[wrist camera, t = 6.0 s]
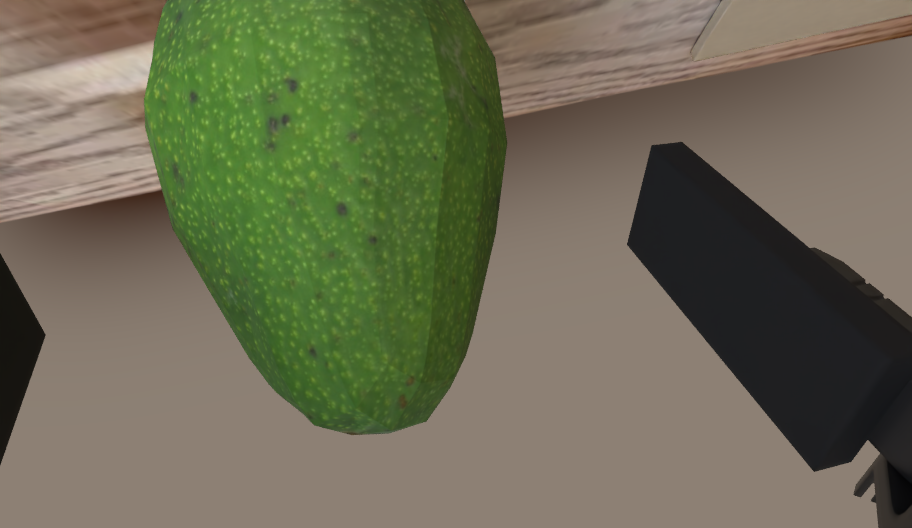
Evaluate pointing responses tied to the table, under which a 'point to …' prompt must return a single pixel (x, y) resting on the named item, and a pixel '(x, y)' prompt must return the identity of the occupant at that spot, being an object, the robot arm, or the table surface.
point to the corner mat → (786, 22)
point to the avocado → (334, 190)
